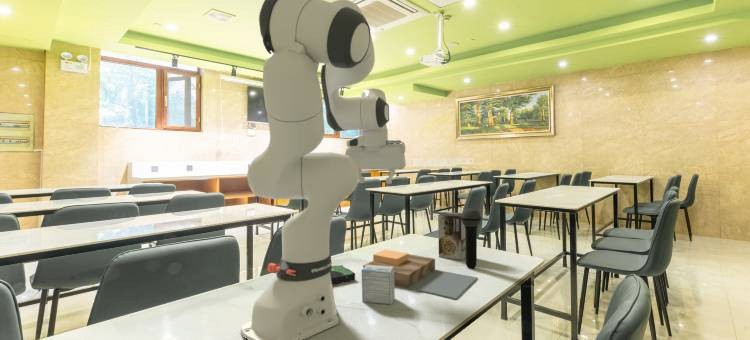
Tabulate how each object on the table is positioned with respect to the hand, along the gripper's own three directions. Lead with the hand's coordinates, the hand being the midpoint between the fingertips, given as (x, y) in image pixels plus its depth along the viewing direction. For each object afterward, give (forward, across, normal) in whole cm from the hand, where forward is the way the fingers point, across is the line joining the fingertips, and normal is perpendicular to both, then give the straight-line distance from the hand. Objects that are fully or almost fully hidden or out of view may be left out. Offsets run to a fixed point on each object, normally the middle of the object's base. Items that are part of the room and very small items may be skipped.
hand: (375, 183), depth 112 cm
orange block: (+25, -5, 0) cm, 25 cm away
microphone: (+30, -29, -12) cm, 43 cm away
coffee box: (+30, -21, -24) cm, 44 cm away
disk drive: (+30, +12, +13) cm, 34 cm away
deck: (+29, -8, +1) cm, 30 cm away
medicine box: (+29, -9, +22) cm, 37 cm away
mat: (+29, -23, +5) cm, 37 cm away
